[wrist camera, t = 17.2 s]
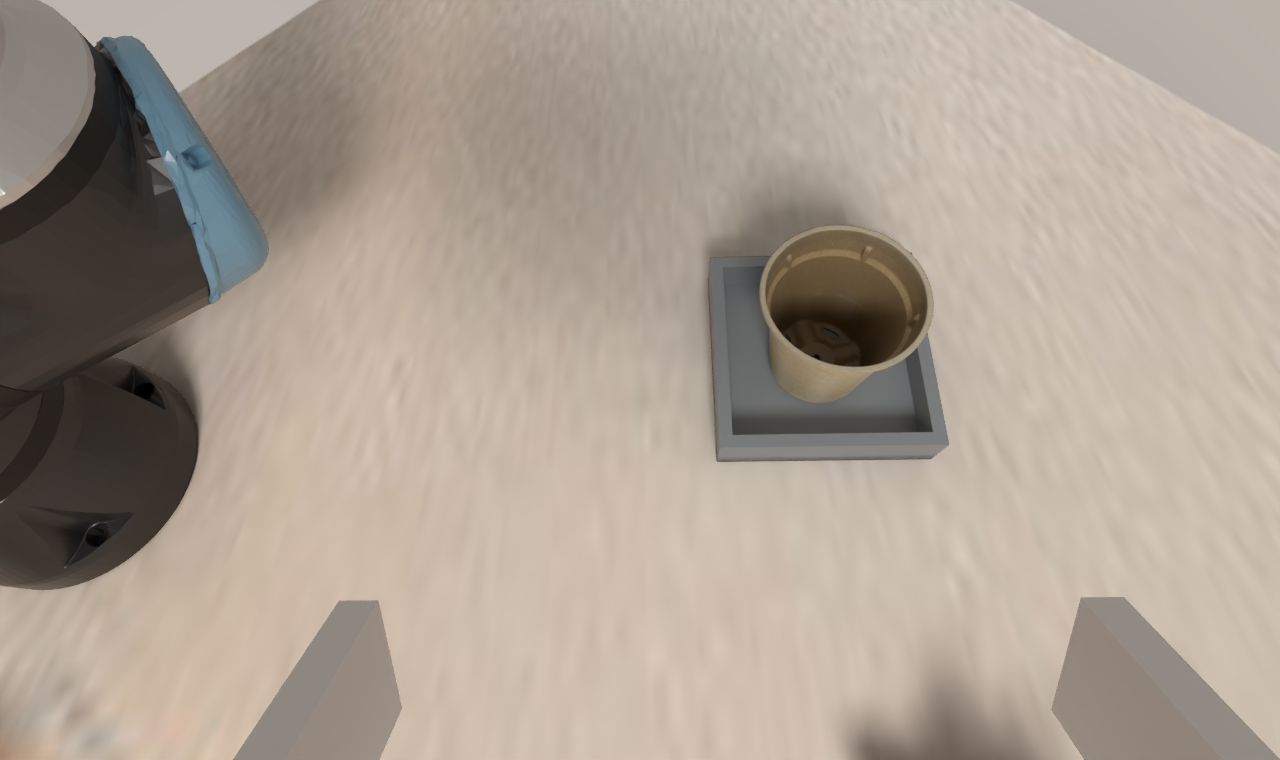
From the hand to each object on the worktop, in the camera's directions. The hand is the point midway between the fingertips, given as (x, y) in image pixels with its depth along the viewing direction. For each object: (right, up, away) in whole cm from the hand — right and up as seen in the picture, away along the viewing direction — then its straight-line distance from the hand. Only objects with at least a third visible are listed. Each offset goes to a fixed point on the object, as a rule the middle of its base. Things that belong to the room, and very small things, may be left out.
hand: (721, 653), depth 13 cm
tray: (+10, +6, +32) cm, 35 cm away
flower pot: (+10, +6, +32) cm, 34 cm away
